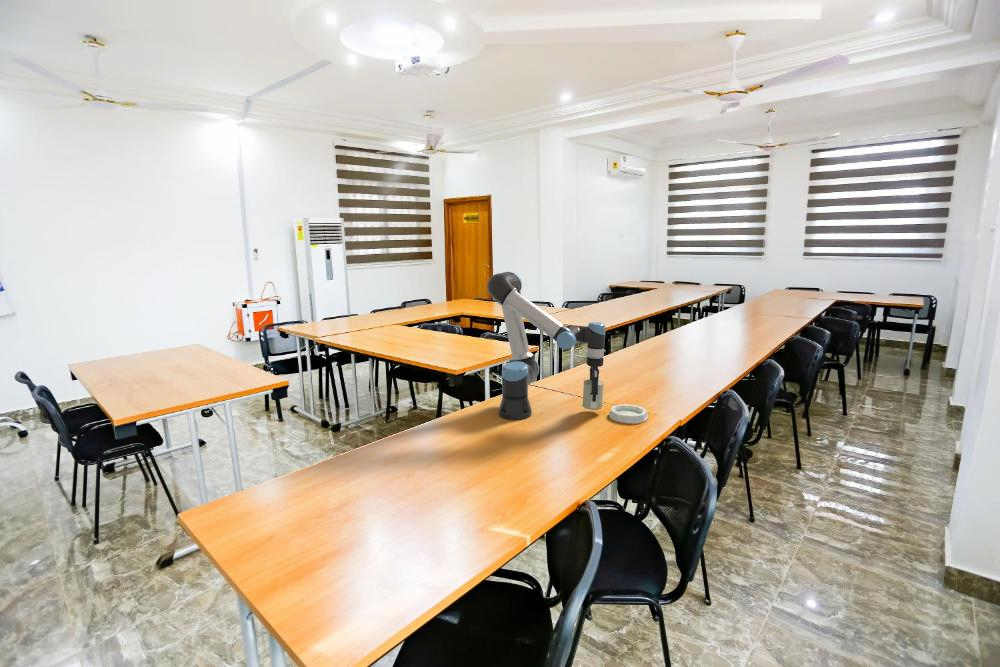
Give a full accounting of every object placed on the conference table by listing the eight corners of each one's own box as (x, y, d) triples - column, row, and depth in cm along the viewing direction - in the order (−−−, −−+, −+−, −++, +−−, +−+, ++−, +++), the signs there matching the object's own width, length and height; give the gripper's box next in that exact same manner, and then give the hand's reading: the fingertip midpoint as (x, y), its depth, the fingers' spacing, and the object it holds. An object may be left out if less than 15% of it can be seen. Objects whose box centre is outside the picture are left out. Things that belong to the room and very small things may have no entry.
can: (578, 404, 230) (579, 379, 227) (594, 401, 234) (596, 377, 231) (589, 411, 222) (591, 385, 219) (606, 408, 225) (608, 383, 223)
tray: (611, 423, 215) (611, 416, 214) (607, 409, 232) (607, 403, 231) (651, 424, 213) (651, 417, 213) (644, 410, 230) (644, 404, 229)
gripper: (606, 363, 212) (603, 413, 216) (601, 351, 233) (598, 397, 237) (588, 362, 213) (585, 412, 217) (585, 350, 234) (582, 396, 238)
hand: (592, 404), depth 227 cm, fingers closed on can, 9 cm apart
